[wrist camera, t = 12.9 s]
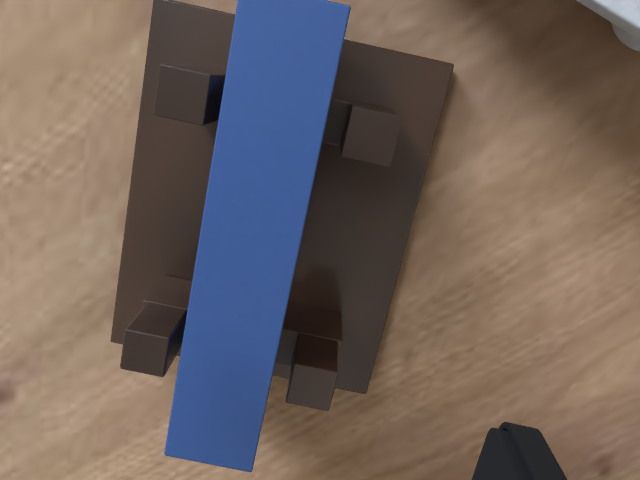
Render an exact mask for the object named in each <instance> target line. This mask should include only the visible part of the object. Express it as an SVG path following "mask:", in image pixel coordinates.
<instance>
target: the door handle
mask: <svg viewBox="0 0 640 480" xmlns="http://www.w3.org/2000/svg"><path fill="white" fill-rule="evenodd" d="M576 1H578V2H579V3H581V4H582V5H584V6H586V7H587V8H589V9H591V10H592V11H594V12H595V13H597V14H599V15H600V16H602V17H604V18H605V19H607V20H608V21H610V22H611V23H612V27H613V30H614V32H615V34H616V36H617V37H618V38H619V40H620V41H621V42H622V43H624V44H625V45H626V46H628V47H629V48H631V49H633V50H636V51H639V52H640V0H576Z"/></svg>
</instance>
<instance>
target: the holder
mask: <svg viewBox="0 0 640 480" xmlns="http://www.w3.org/2000/svg"><path fill="white" fill-rule="evenodd" d="M234 21H235V15H234V14H230V13H226V12H221V11H217V10H212V9H208V8H204V7H199V6H195V5H190V4H186V3H182V2H177V1H173V0H154V2H153V9H152V17H151V25H150V33H149V41H148V49H147V57H146V65H145V73H144V81H143V89H142V97H141V105H140V112H139V120H138V128H137V136H136V144H135V152H134V160H133V168H132V176H131V184H130V192H129V200H128V208H127V215H126V223H125V231H124V239H123V247H122V255H121V263H120V271H119V279H118V287H117V295H116V303H115V311H114V318H113V326H112V334H111V342H114V343H119V344H123V349H122V357H121V364H120V367H121V369H125V370H130V371H135V372H140V373H145V374H150V375H155V376H160V377H164V375H165V374H166V372H167V370H168V368H169V367H170V365H171V363H172V361H173V360H174V358H175V356H176V355H177V356H180V354H181V348H182V342H183V336H184V330H185V323H186V317H187V311H188V305H189V299H190V293H191V286H192V280H193V274H194V268H195V262H196V256H197V249H198V243H199V237H200V231H201V225H202V219H203V212H204V206H205V200H206V194H207V188H208V182H209V175H210V169H211V163H212V157H213V151H214V145H215V138H216V132H217V126H218V120H219V114H220V108H221V101H222V95H223V89H224V83H225V77H226V71H227V64H228V58H229V52H230V46H231V40H232V33H233V27H234ZM453 67H454V65H453V64H451V63H446V62H442V61H438V60H433V59H429V58H424V57H420V56H416V55H411V54H407V53H402V52H398V51H393V50H389V49H385V48H380V47H376V46H371V45H367V44H363V43H358V42H354V41H349V40H345V39H344V41H343V46H342V51H341V56H340V60H339V65H338V70H337V74H336V79H335V84H334V88H333V93H332V98H331V103H330V107H329V112H328V117H327V121H326V126H325V131H324V135H323V140H322V145H321V150H320V154H319V159H318V164H317V168H316V173H315V178H314V182H313V187H312V192H311V196H310V201H309V206H308V211H307V215H306V220H305V225H304V229H303V234H302V239H301V243H300V248H299V253H298V258H297V262H296V267H295V272H294V276H293V281H292V286H291V290H290V295H289V300H288V305H287V309H286V314H285V319H284V323H283V328H282V333H281V337H280V342H279V347H278V352H277V356H276V361H275V366H274V370H273V375H275V376H280V377H284V378H289V382H288V389H287V395H286V402H287V403H291V404H296V405H301V406H305V407H310V408H315V409H320V410H325V411H329V409H330V405H331V401H332V397H333V393H334V389H335V388H338V389H343V390H348V391H353V392H358V393H363V394H366V393H367V389H368V385H369V381H370V378H371V374H372V370H373V366H374V363H375V359H376V355H377V351H378V348H379V344H380V340H381V336H382V333H383V329H384V325H385V321H386V318H387V314H388V310H389V307H390V303H391V299H392V295H393V292H394V288H395V284H396V280H397V277H398V273H399V269H400V265H401V262H402V258H403V254H404V250H405V247H406V243H407V239H408V235H409V232H410V228H411V224H412V220H413V217H414V213H415V209H416V205H417V202H418V198H419V194H420V191H421V187H422V183H423V179H424V176H425V172H426V168H427V164H428V161H429V157H430V153H431V149H432V146H433V142H434V138H435V134H436V131H437V127H438V123H439V119H440V116H441V112H442V108H443V104H444V101H445V97H446V93H447V90H448V86H449V82H450V78H451V75H452V71H453Z"/></svg>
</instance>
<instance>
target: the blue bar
mask: <svg viewBox="0 0 640 480" xmlns="http://www.w3.org/2000/svg"><path fill="white" fill-rule="evenodd" d="M350 9H351V8H350V6H348V5H344V4H339V3H335V2H331V1H326V0H238V3H237V9H236V15H235V21H234V27H233V33H232V40H231V46H230V52H229V58H228V64H227V71H226V77H225V83H224V89H223V95H222V101H221V108H220V114H219V120H218V126H217V132H216V138H215V145H214V151H213V157H212V163H211V169H210V175H209V182H208V188H207V194H206V200H205V206H204V212H203V219H202V225H201V231H200V237H199V243H198V249H197V256H196V262H195V268H194V274H193V280H192V286H191V293H190V299H189V305H188V311H187V317H186V323H185V330H184V336H183V342H182V348H181V354H180V360H179V367H178V373H177V379H176V385H175V391H174V398H173V404H172V410H171V416H170V422H169V428H168V435H167V441H166V447H165V453H164V454H165V455H166V456H171V457H176V458H181V459H186V460H191V461H196V462H201V463H206V464H211V465H216V466H222V467H227V468H232V469H237V470H242V471H247V472H252V469H253V464H254V460H255V455H256V450H257V445H258V441H259V436H260V431H261V427H262V422H263V417H264V413H265V408H266V403H267V398H268V394H269V389H270V384H271V380H272V375H273V370H274V366H275V361H276V356H277V352H278V347H279V342H280V337H281V333H282V328H283V323H284V319H285V314H286V309H287V305H288V300H289V295H290V290H291V286H292V281H293V276H294V272H295V267H296V262H297V258H298V253H299V248H300V243H301V239H302V234H303V229H304V225H305V220H306V215H307V211H308V206H309V201H310V196H311V192H312V187H313V182H314V178H315V173H316V168H317V164H318V159H319V154H320V150H321V145H322V140H323V135H324V131H325V126H326V121H327V117H328V112H329V107H330V103H331V98H332V93H333V88H334V84H335V79H336V74H337V70H338V65H339V60H340V56H341V51H342V46H343V41H344V37H345V32H346V27H347V23H348V18H349V13H350Z"/></svg>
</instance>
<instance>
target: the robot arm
mask: <svg viewBox="0 0 640 480" xmlns="http://www.w3.org/2000/svg"><path fill="white" fill-rule="evenodd" d="M472 480H567V478H566V477H565V475H564V473H563V471H562V469H561V468H560V466H559V464H558V462H557V461H556V459H555V457H554V455H553V453H552V452H551V450H550V448H549V446H548V444H547V443H546V441H545V439H544V437H543V435H542V434H541V432H540V431H539V430H538V429H535V428H531V427H526V426H522V425H517V424H513V423H508V422H504V423H502V424H501V426H500V427H499V429H496V428H491V429H490V430H489V432H488V434H487V436H486V439H485V442H484V445H483V448H482V451H481V454H480V457H479V460H478V463H477V466H476V469H475V472H474V475H473V477H472Z"/></svg>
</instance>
